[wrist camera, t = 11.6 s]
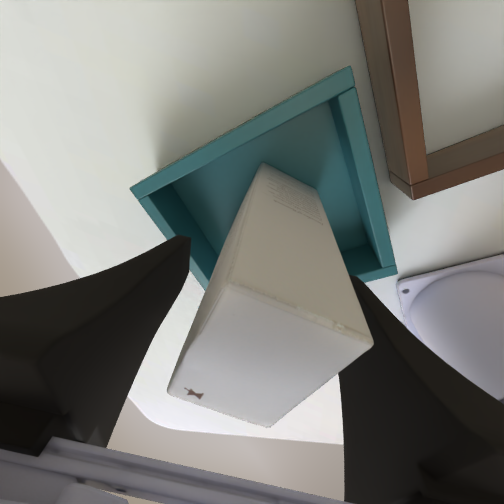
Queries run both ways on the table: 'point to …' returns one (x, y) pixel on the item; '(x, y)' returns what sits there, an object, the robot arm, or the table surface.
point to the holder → (414, 110)
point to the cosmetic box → (272, 309)
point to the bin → (289, 162)
